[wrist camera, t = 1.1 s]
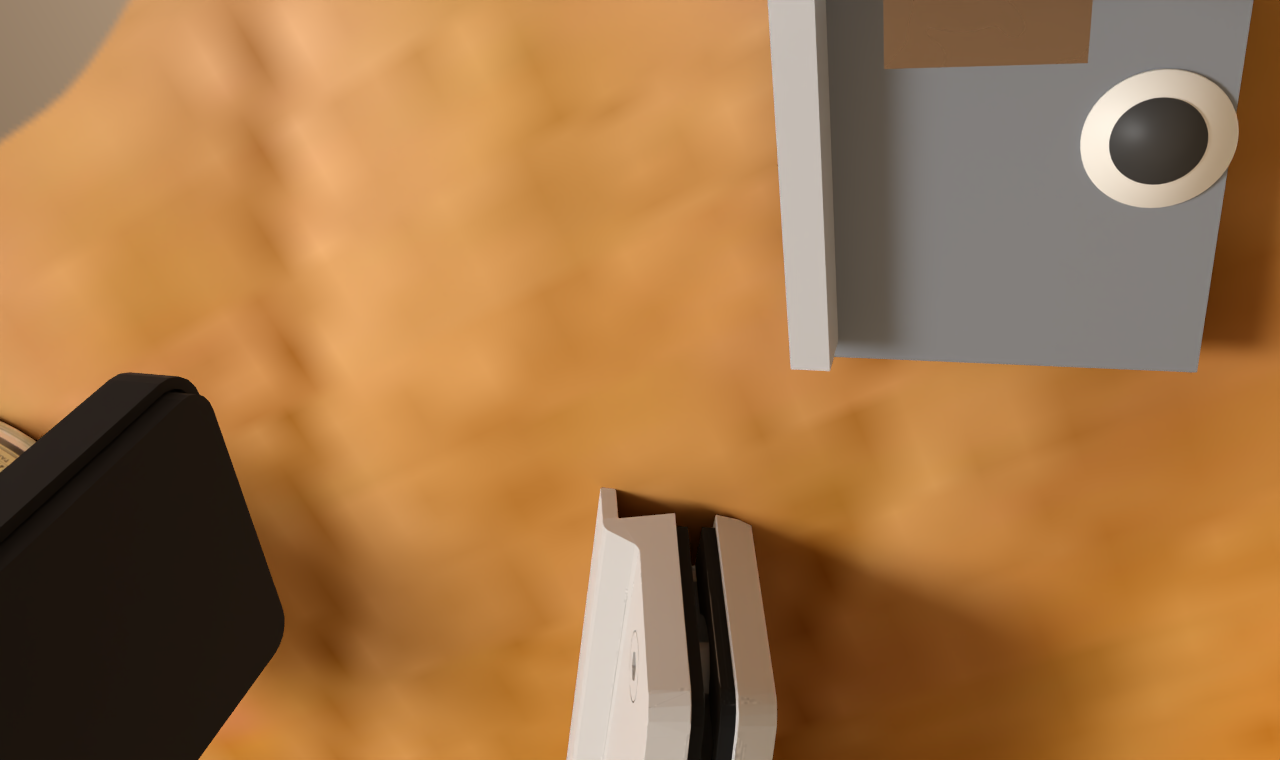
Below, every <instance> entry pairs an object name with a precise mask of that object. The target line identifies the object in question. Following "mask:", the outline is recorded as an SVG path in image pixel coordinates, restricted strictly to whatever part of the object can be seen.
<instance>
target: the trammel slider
mask: <svg viewBox="0 0 1280 760" xmlns="http://www.w3.org/2000/svg"><path fill="white" fill-rule="evenodd" d="M1092 5H1093V0H883V20H884V69H905V68H939V67H974V66H1008V65H1043V64H1077V63H1088V54H1089V42H1090V29H1091V17H1092Z"/></svg>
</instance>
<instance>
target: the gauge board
mask: <svg viewBox="0 0 1280 760" xmlns="http://www.w3.org/2000/svg"><path fill="white" fill-rule="evenodd" d="M1252 7H1253V0H1093V5H1092V17H1091V29H1090V42H1089V54H1088V63H1077V64H1043V65H1008V66H974V67H939V68H905V69H884V20H883V0H768V12H769V28H770V44H771V60H772V76H773V92H774V108H775V124H776V140H777V156H778V172H779V188H780V204H781V220H782V236H783V252H784V268H785V284H786V300H787V316H788V332H789V348H790V364H791V369H798V370H819V371H830V369H831V365H832V362H833V358H834V357H852V358H875V359H898V360H921V361H945V362H968V363H991V364H1014V365H1038V366H1061V367H1084V368H1107V369H1131V370H1154V371H1177V372H1197V368H1198V361H1199V355H1200V348H1201V342H1202V335H1203V329H1204V322H1205V315H1206V309H1207V302H1208V296H1209V289H1210V283H1211V276H1212V270H1213V263H1214V256H1215V250H1216V243H1217V237H1218V230H1219V224H1220V217H1221V210H1222V204H1223V197H1224V191H1225V184H1226V178H1227V171H1228V166H1229V164H1230V162H1231V160H1232V159H1233V156H1234V153H1235V151H1236V147H1237V143H1238V135H1239V127H1238V119H1237V115H1236V112H1237V105H1238V99H1239V92H1240V86H1241V79H1242V73H1243V66H1244V59H1245V53H1246V46H1247V40H1248V33H1249V27H1250V20H1251V14H1252Z"/></svg>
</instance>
